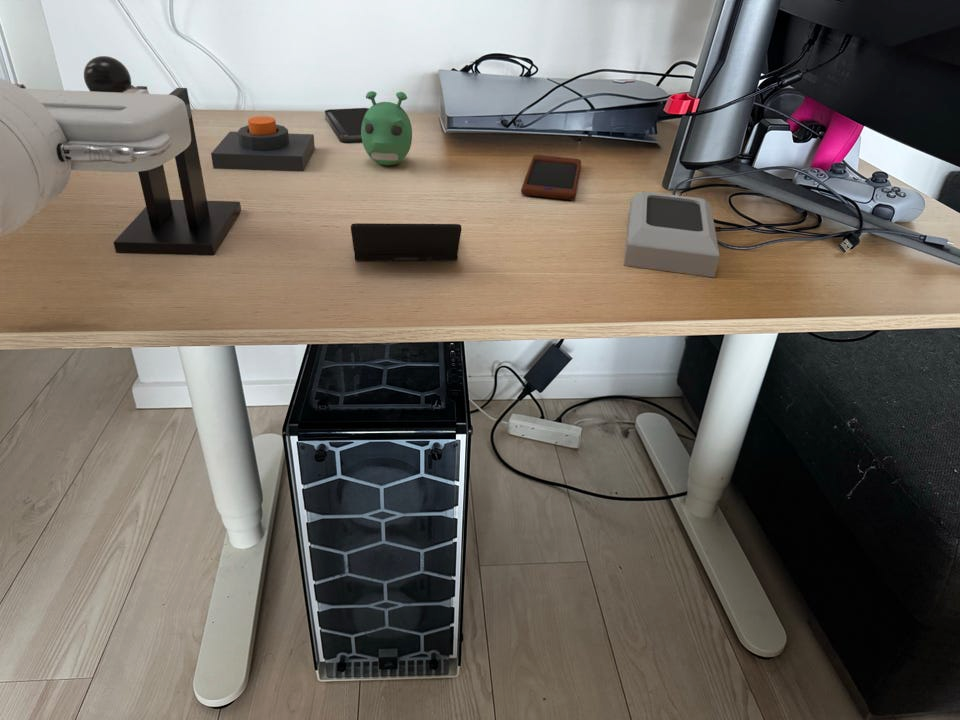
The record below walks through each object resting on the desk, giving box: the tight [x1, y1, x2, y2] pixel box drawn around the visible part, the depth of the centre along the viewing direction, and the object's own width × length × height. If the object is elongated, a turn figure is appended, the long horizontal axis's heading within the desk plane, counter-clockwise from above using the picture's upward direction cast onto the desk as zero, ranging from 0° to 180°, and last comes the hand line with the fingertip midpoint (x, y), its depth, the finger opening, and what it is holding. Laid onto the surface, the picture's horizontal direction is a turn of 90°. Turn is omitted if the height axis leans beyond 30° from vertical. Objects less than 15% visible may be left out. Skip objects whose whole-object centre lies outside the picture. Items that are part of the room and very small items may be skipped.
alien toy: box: [361, 90, 413, 167], centre depth 97 cm, size 7×8×10 cm
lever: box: [83, 55, 137, 93], centre depth 66 cm, size 14×4×4 cm, turn 2°
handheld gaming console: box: [350, 222, 462, 262], centre depth 74 cm, size 12×7×10 cm
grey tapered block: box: [623, 191, 721, 278], centre depth 81 cm, size 10×4×15 cm
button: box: [247, 115, 277, 135], centre depth 97 cm, size 4×4×2 cm
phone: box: [324, 107, 370, 144], centre depth 113 cm, size 8×1×15 cm
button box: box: [210, 124, 316, 172], centre depth 98 cm, size 12×10×4 cm
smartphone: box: [520, 154, 582, 201], centre depth 97 cm, size 7×1×15 cm
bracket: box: [113, 85, 242, 256], centre depth 74 cm, size 12×10×15 cm
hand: (80, 96), depth 56 cm, fingers open, 8 cm apart
